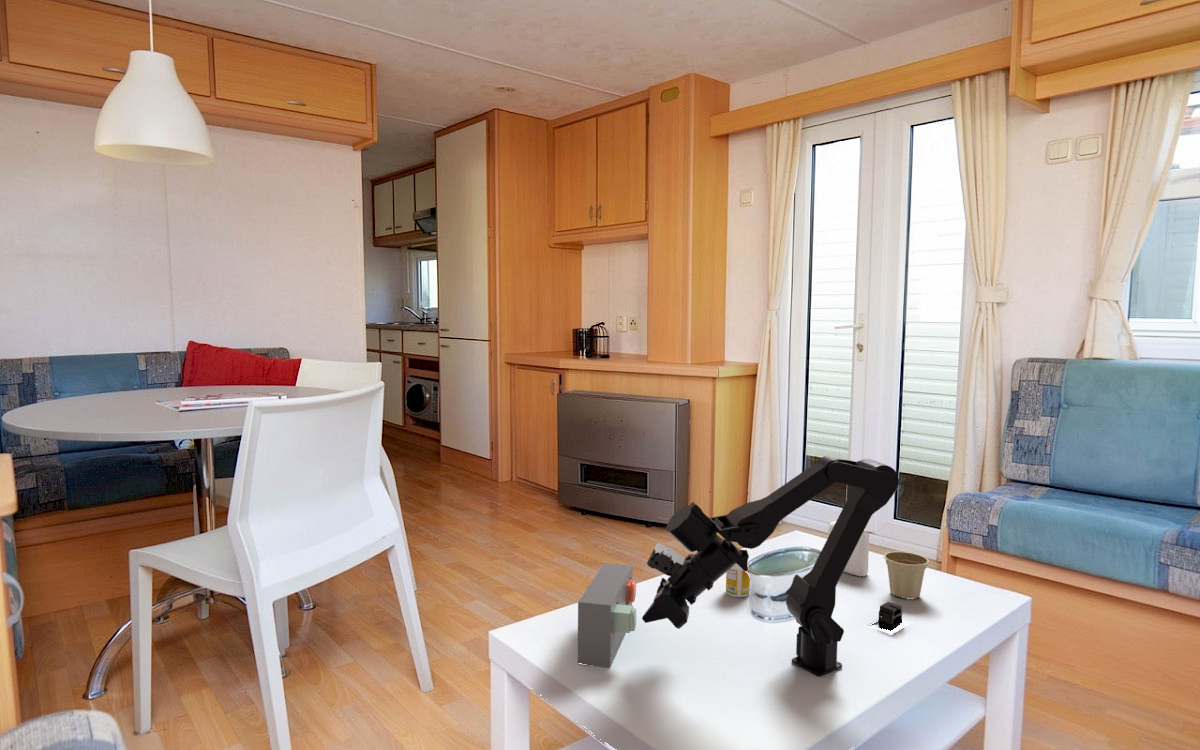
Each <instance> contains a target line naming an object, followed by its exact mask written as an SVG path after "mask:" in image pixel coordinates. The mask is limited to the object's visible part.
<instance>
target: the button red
mask: <svg viewBox="0 0 1200 750" xmlns="http://www.w3.org/2000/svg"><path fill="white" fill-rule="evenodd" d="M636 593H637V583H636V581H635V580H634V579H633V580H632V579H629V581H628V583H627V602H626V603H628V604H630V602H632V603H635V600H636V595H637V594H636Z"/></svg>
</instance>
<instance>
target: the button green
mask: <svg viewBox="0 0 1200 750" xmlns="http://www.w3.org/2000/svg"><path fill="white" fill-rule="evenodd" d="M637 616H638V615H637V608H636V607H634V605H632V606H630V605H620V604H616V605H615V607H614V609H613V631H615V632H623V633H626V634H630V633H631V632H635V630H636V628H637V627H636V626H637Z"/></svg>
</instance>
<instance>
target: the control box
mask: <svg viewBox="0 0 1200 750" xmlns="http://www.w3.org/2000/svg"><path fill="white" fill-rule="evenodd" d="M633 568H634V567H633V565H630V564H618V563H610V562H609V563H606V562H604V563H603V565H602V566H601V567H600V569H599V570H598V572H597V573H596V574H595V576H594V577H593V579H592V581H591V582H590V584H589V585H588V587H587V588H586V590H585V591H584V593H583V594H582V595H581V597H580V598H579V600H578V603H577V606H578V607H577V664H578V663H582V664H587V665H586V666H589V665H593V666H592V667H597V666H599V667H598V668H606V669H611V668H612V665H613V662H614V661H615V658H616V656H617V654H618V652H619V650H618V649H620V648H621V645H622V643H623V641H622V640H624V639H625V636H626V634H625V633H623V632H615V631H613V609H614V607H615V605H616V604H620V605H630V606H633V602H630V604H628V603H626V602H627V583H628V581H629V579H632V580H633V581H634V578H633V575H634V574H633V572H634V570H633ZM621 642H622V643H621ZM617 651H618V652H617ZM613 660H614V661H613Z"/></svg>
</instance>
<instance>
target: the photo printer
mask: <svg viewBox="0 0 1200 750" xmlns="http://www.w3.org/2000/svg"><path fill="white" fill-rule="evenodd" d="M836 521H837V520H834V521H831V522H830V524H828V525H829V526H828V530H827V538H828V537H829V535H830V533H831V531H832V529H833V527H834V525H835V523H836ZM869 545H870V533H869V531H868V529H866V528H865V530H864V532H863V534H862V536H861V538H860V540H859V542H858V544H857V546H856V547H855V549H854V551H853V553H852V555H851V557H850V559H849V561H848V563H847V565H846V567H845V569H844V571H843V573H847V574H850V575H853V576H857V577H861V576H863V577H866V576H868V573H869V553H870V552H869Z"/></svg>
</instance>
